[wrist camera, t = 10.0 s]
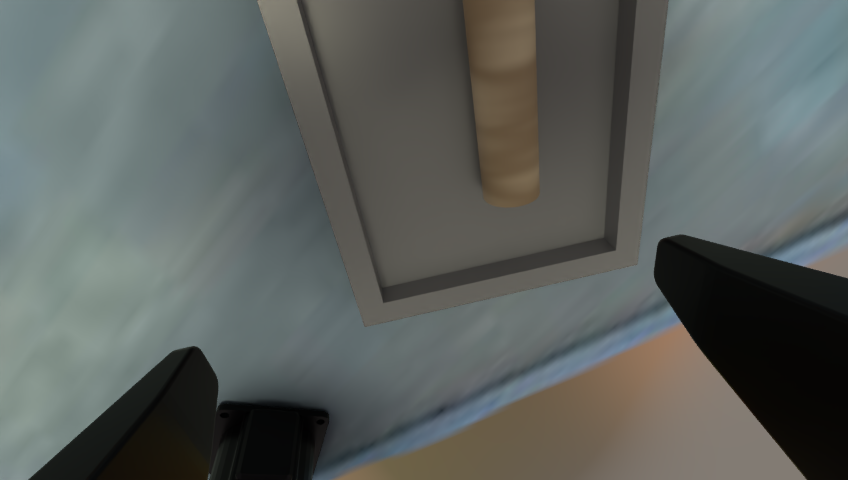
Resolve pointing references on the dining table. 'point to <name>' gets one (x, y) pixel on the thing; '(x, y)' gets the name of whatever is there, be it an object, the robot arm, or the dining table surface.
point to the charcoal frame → (468, 145)
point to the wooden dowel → (504, 98)
